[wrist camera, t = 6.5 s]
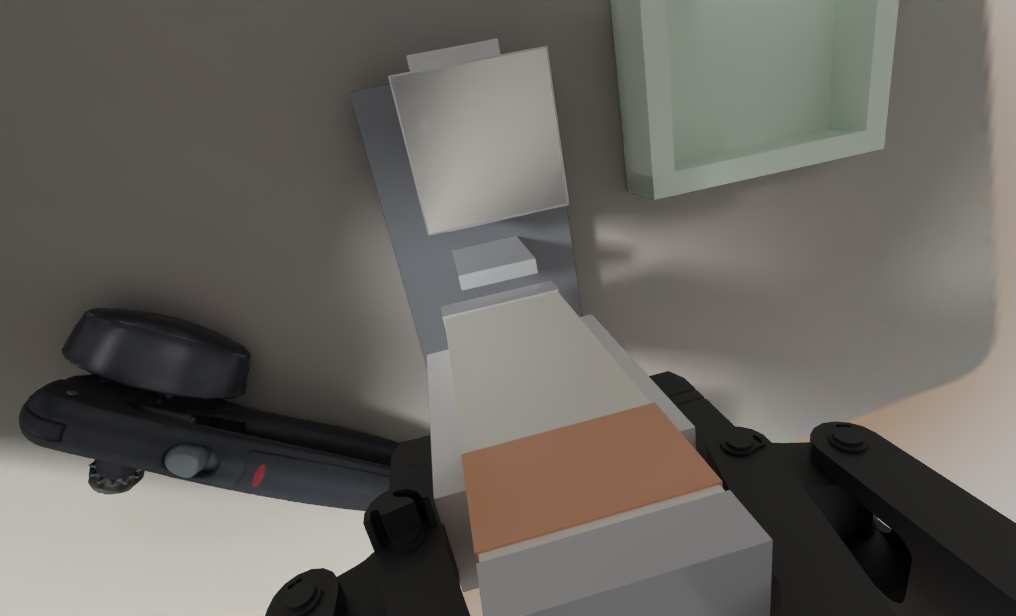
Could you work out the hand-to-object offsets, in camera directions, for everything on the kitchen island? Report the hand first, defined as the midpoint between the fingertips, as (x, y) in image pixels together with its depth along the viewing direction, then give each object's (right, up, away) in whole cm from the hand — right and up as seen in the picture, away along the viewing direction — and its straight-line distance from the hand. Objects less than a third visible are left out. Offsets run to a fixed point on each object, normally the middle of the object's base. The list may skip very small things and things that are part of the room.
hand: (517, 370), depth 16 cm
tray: (+10, +14, +6) cm, 18 cm away
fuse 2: (0, +1, +2) cm, 2 cm away
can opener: (-12, -3, +9) cm, 16 cm away
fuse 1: (-2, +9, +4) cm, 10 cm away
